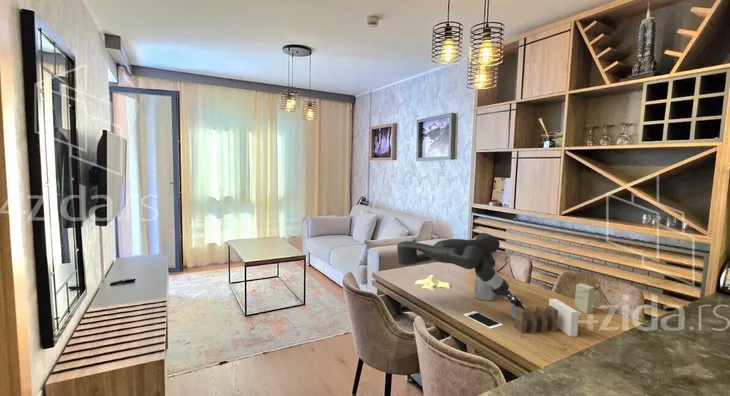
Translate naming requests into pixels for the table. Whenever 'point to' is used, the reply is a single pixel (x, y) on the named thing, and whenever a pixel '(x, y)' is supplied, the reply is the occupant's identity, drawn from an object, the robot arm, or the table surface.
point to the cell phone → (483, 319)
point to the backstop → (566, 317)
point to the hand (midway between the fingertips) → (520, 307)
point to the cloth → (432, 283)
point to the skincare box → (584, 298)
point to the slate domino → (514, 309)
